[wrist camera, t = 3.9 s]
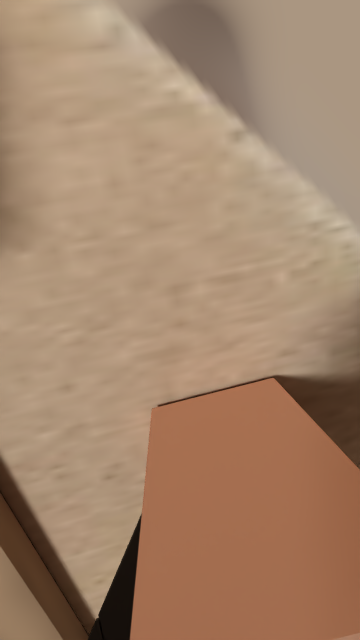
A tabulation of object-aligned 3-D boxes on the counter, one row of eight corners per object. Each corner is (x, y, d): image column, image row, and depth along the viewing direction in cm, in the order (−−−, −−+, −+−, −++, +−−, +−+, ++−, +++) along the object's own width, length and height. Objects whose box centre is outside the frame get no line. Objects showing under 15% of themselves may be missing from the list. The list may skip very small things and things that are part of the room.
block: (273, 377, 9) (483, 602, 3) (287, 472, 10) (452, 758, 4) (151, 408, 9) (124, 691, 3) (181, 499, 10) (203, 820, 4)
